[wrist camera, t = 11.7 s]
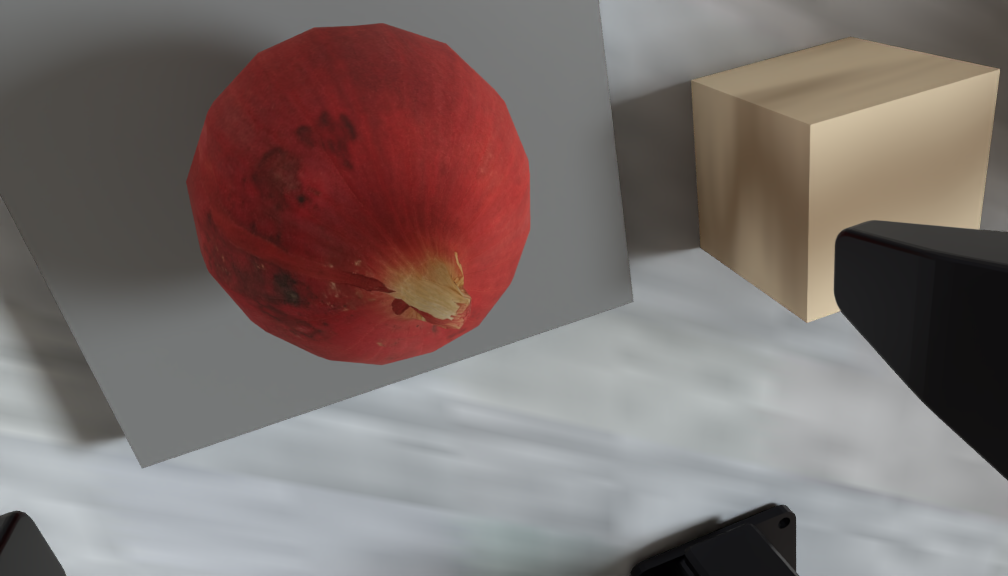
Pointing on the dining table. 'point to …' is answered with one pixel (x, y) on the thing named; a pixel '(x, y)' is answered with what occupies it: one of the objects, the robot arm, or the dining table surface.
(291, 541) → the dining table surface
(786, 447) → the dining table surface
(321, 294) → the onion
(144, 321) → the gray board
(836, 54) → the beech block
